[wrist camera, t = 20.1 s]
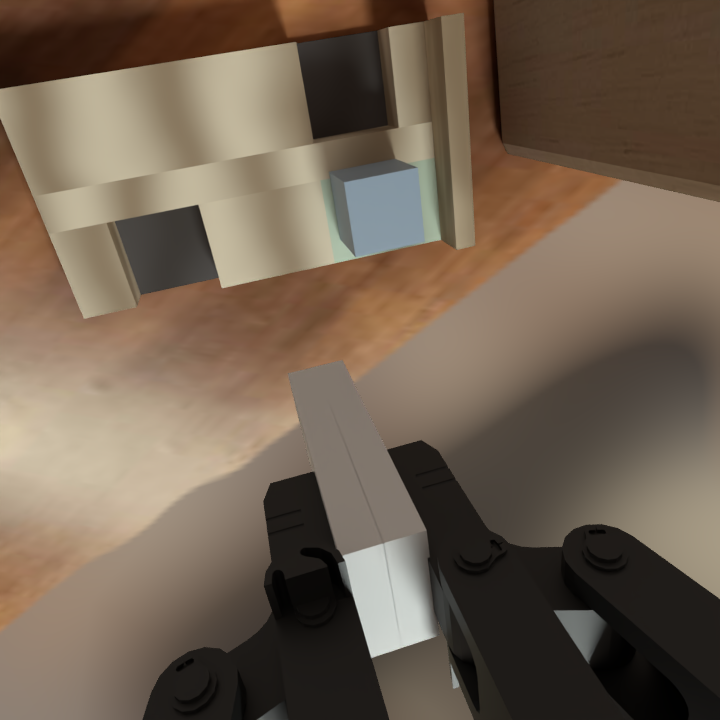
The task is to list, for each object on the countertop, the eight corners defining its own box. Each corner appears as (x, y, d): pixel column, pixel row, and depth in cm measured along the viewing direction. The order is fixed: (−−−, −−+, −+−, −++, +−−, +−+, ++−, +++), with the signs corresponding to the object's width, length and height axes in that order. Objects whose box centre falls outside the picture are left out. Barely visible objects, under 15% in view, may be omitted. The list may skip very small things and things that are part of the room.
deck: (91, 303, 34) (75, 335, 30) (5, 90, 29) (-31, 91, 24) (444, 227, 38) (475, 245, 33) (428, 22, 32) (463, 12, 28)
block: (485, -23, 32) (820, -153, 14) (640, -55, 33) (1121, -209, 16) (497, 157, 37) (760, 223, 19) (632, 123, 38) (994, 157, 20)
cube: (340, 239, 34) (355, 257, 30) (328, 171, 32) (343, 182, 28) (402, 226, 34) (424, 241, 31) (395, 158, 33) (417, 167, 29)
